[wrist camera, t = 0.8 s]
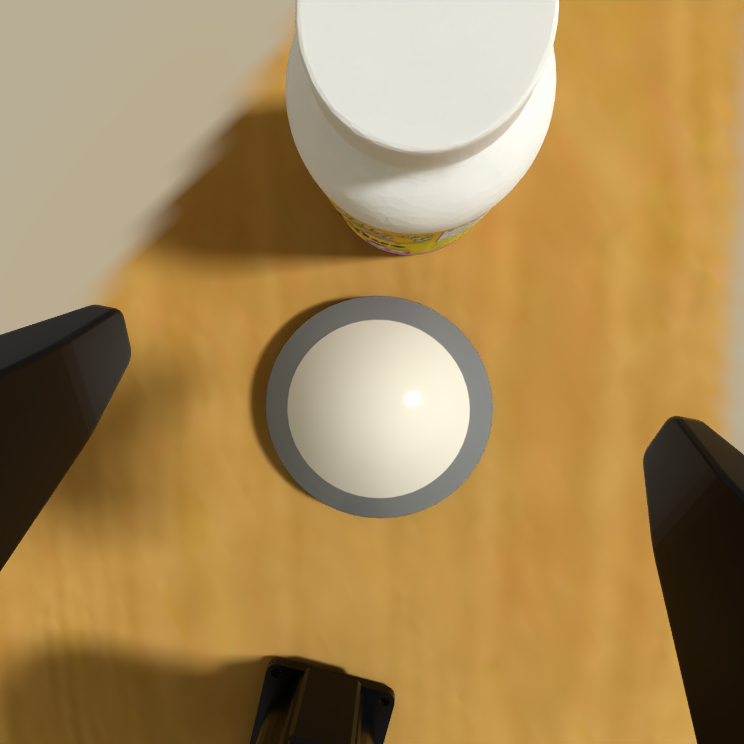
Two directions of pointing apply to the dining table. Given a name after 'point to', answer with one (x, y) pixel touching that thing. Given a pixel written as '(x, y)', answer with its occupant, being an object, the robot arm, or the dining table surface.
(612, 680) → the dining table surface
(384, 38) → the supplement bottle
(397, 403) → the push button
